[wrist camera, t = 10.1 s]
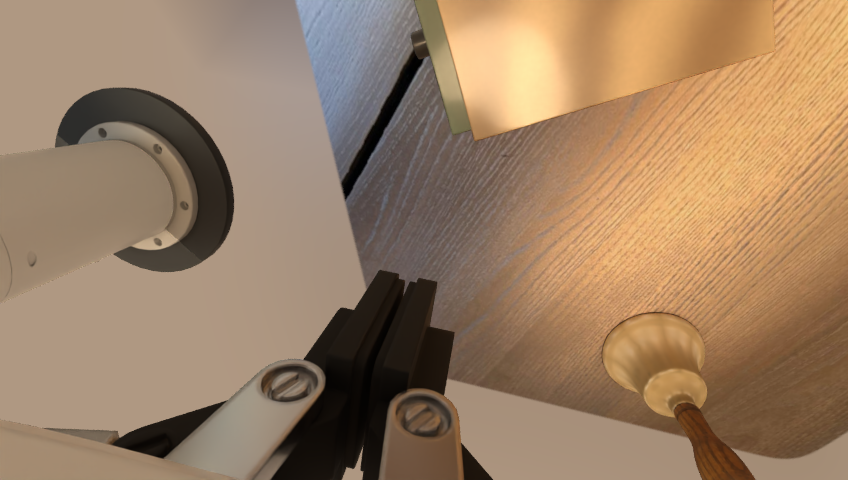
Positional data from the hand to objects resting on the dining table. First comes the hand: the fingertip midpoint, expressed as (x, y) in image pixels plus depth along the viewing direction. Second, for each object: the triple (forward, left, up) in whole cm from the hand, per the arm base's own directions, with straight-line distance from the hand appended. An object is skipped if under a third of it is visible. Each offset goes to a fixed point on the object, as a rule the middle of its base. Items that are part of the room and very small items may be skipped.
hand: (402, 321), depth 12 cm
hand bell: (+1, -23, -23) cm, 33 cm away
